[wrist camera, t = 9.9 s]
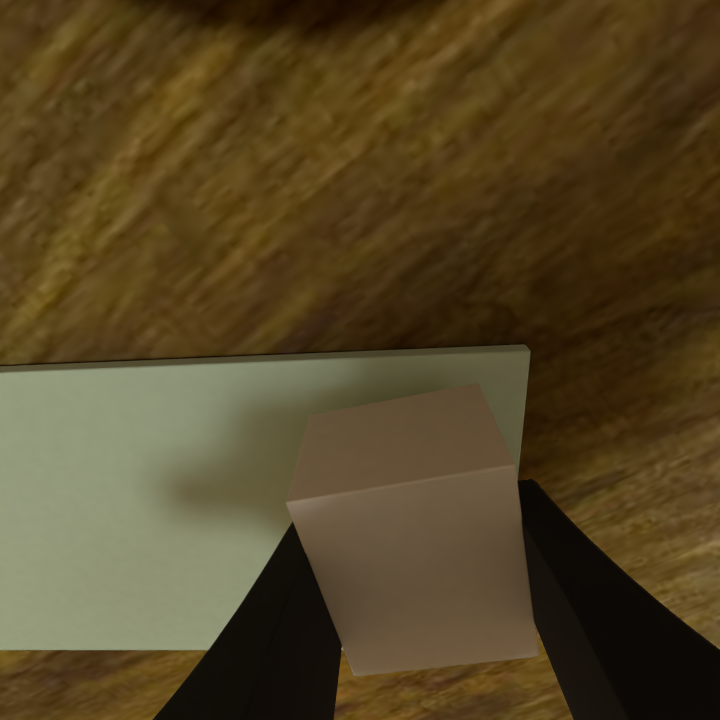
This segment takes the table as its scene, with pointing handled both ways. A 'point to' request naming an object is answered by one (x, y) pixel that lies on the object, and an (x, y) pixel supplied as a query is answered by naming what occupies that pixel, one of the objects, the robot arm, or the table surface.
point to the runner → (180, 481)
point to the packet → (416, 532)
